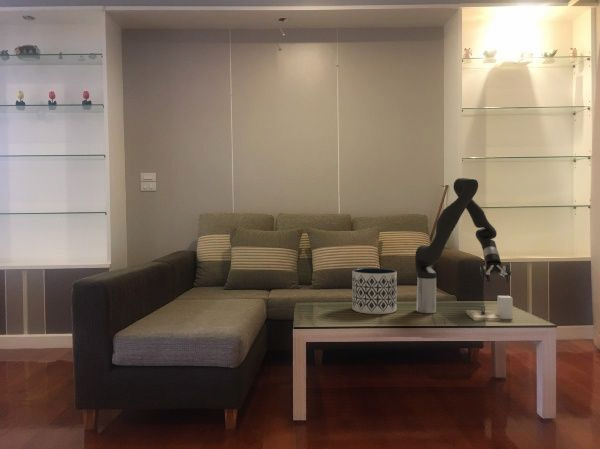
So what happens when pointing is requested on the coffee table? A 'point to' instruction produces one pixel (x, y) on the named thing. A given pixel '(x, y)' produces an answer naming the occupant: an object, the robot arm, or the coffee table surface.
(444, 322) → the coffee table surface
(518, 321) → the coffee table surface
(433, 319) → the coffee table surface
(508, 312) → the block
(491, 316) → the stub plate
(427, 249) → the robot arm
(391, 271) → the planter
